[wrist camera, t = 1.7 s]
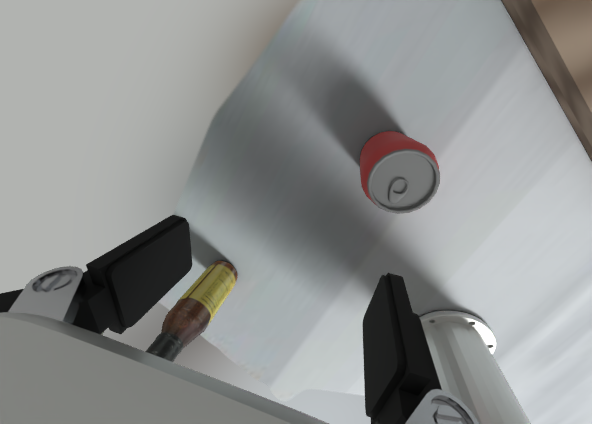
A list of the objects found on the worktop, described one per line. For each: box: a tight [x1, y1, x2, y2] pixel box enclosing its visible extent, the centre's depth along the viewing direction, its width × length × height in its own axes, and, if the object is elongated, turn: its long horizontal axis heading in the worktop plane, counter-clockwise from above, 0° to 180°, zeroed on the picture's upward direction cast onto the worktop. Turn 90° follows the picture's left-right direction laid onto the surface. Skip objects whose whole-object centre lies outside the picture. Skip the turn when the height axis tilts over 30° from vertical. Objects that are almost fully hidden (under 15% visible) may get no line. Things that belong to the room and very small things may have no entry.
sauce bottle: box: [146, 261, 237, 362], centre depth 36 cm, size 7×6×20 cm
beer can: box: [360, 131, 440, 213], centre depth 24 cm, size 7×7×12 cm
